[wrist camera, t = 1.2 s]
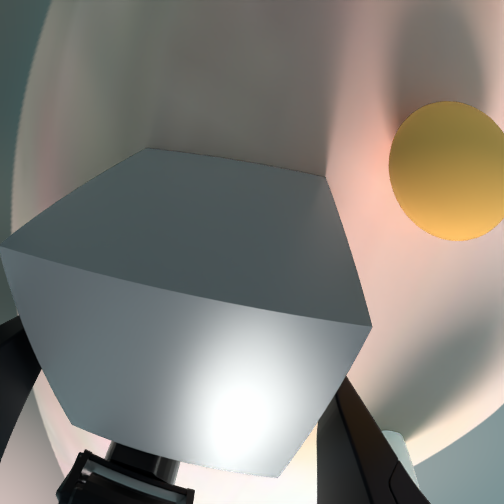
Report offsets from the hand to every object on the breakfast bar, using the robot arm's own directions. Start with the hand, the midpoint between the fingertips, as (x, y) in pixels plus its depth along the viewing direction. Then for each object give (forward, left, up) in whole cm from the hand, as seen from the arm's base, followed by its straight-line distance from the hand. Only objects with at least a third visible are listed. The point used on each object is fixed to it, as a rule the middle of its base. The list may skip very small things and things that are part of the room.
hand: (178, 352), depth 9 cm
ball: (+6, -8, -4) cm, 11 cm away
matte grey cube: (0, 0, -7) cm, 7 cm away
